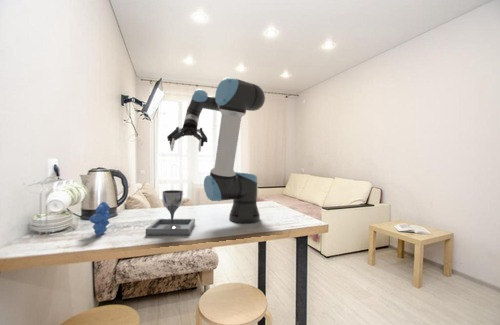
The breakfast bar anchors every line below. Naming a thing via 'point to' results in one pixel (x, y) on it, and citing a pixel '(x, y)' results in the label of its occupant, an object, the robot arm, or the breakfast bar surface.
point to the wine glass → (172, 203)
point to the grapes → (100, 218)
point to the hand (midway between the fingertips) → (185, 149)
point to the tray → (158, 229)
